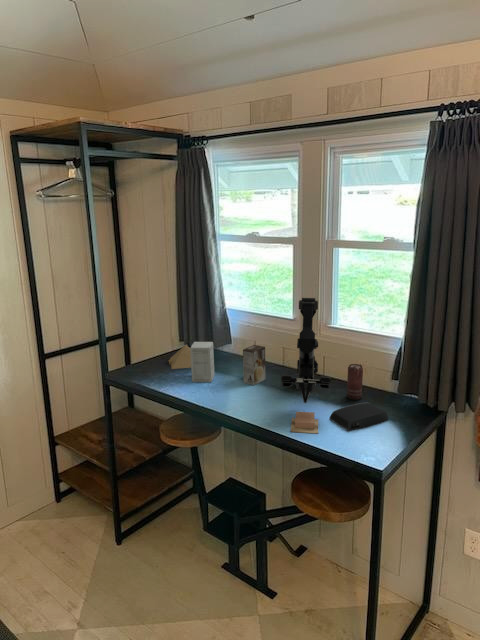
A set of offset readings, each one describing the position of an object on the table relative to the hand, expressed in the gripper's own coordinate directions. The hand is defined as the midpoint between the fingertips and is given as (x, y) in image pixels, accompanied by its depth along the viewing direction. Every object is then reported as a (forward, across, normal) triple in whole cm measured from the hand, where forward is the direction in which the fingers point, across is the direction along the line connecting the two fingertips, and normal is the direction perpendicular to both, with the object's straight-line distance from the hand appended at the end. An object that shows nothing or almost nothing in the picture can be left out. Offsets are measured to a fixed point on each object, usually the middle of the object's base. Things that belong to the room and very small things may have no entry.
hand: (305, 402), depth 185 cm
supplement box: (-22, +48, -33) cm, 62 cm away
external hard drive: (+3, -20, -9) cm, 22 cm away
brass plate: (+8, 0, -3) cm, 9 cm away
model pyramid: (-36, +62, -48) cm, 86 cm away
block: (+2, 0, -6) cm, 7 cm away
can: (-12, -20, -23) cm, 33 cm away
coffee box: (-22, +24, -33) cm, 46 cm away
